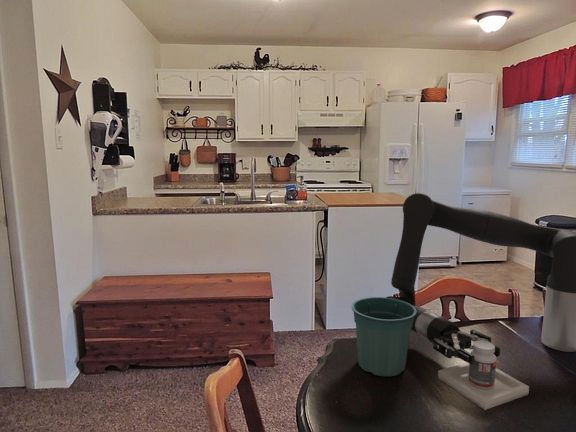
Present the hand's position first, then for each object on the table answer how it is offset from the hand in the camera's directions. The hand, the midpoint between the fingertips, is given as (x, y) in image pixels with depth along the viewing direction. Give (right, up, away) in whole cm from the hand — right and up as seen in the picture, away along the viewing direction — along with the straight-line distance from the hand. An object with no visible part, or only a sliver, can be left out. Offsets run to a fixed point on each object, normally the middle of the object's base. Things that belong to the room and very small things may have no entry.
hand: (486, 356), depth 97 cm
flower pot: (-22, -7, +12) cm, 26 cm away
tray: (0, -8, +2) cm, 8 cm away
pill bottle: (0, -7, +2) cm, 8 cm away
